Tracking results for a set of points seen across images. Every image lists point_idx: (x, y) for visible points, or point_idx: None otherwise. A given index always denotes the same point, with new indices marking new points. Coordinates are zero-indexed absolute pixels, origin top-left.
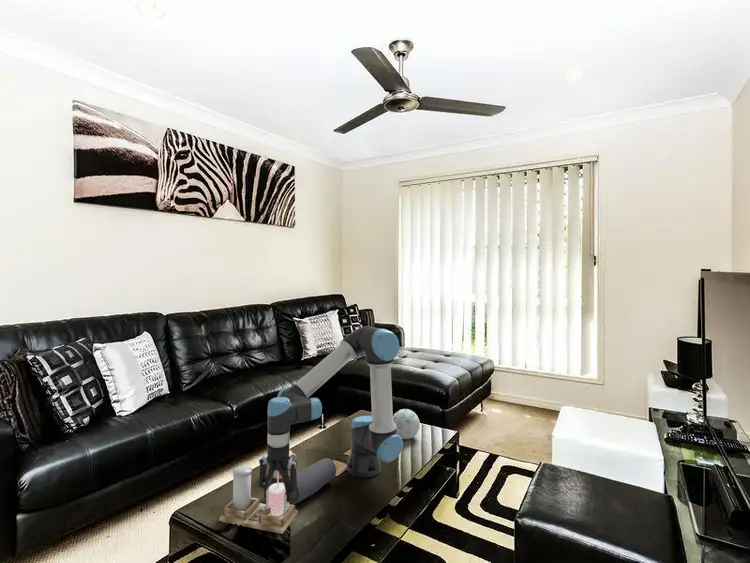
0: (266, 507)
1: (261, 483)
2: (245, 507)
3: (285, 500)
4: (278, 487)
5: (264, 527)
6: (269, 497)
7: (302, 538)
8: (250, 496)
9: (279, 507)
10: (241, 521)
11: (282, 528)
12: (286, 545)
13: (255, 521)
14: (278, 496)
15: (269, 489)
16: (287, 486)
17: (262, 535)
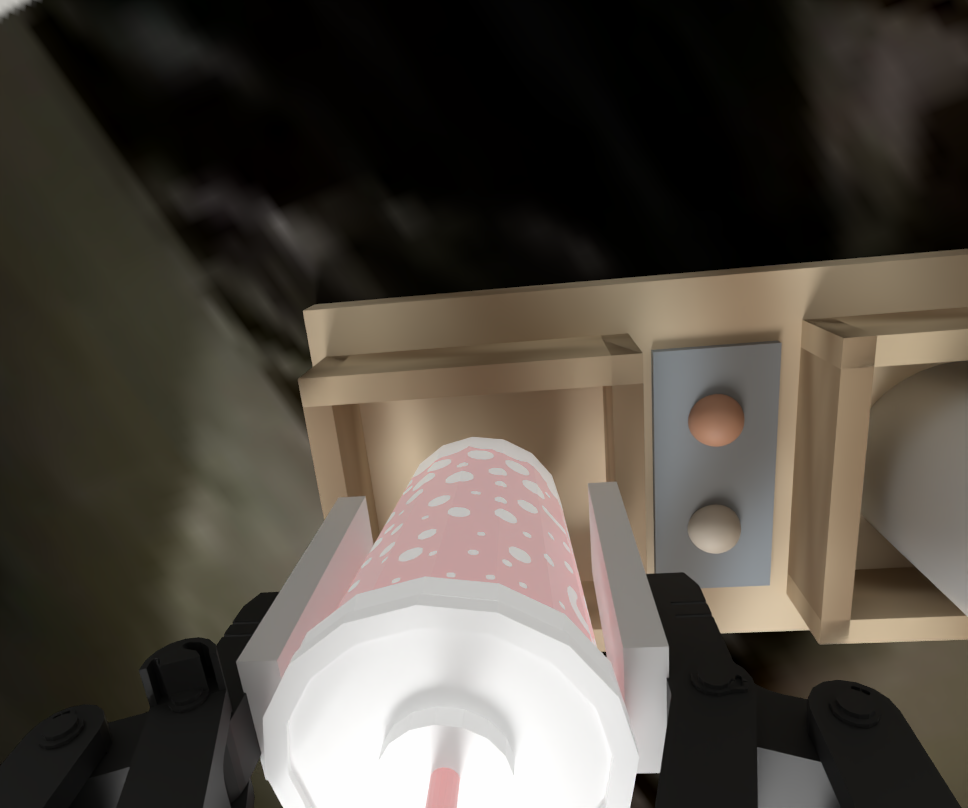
0: (611, 489)
1: (852, 756)
2: (917, 441)
3: (287, 584)
4: (410, 756)
5: (522, 290)
6: (605, 597)
7: (94, 314)
8: (953, 585)
9: (399, 504)
10: (845, 278)
11: (320, 337)
12: (160, 155)
13: (679, 339)
14: (364, 584)
15: (566, 651)
16: (125, 799)
17: (492, 202)
